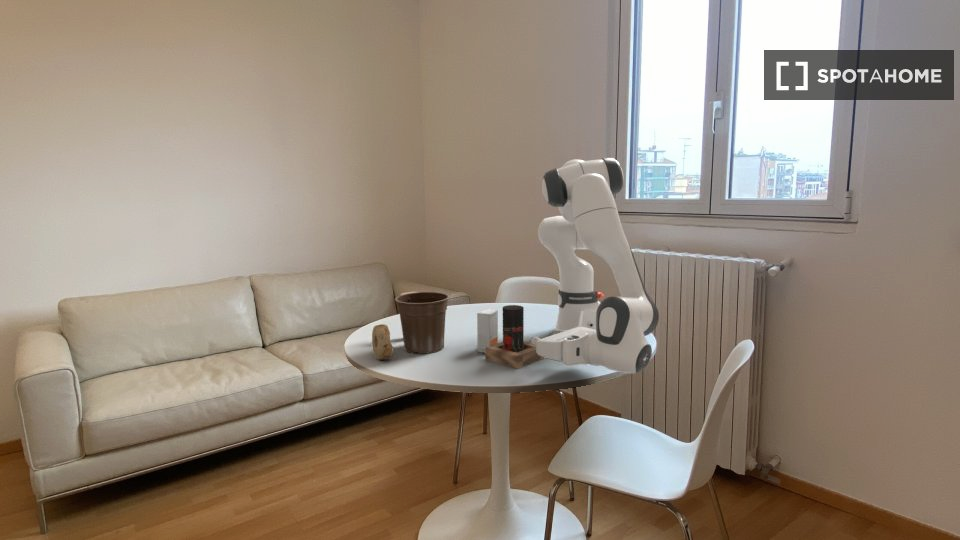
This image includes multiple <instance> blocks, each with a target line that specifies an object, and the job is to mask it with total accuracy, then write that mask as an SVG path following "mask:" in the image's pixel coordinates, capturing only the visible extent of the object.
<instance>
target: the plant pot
mask: <svg viewBox="0 0 960 540" xmlns="http://www.w3.org/2000/svg"><path fill="white" fill-rule="evenodd" d="M415 292H416V293H408V294H404V295H401V294H400V295H398V296H396V297H395V298H394V300H395V303H396V305H397V309H398V310H397V311H398V313H399V317H400V324H401V332H402V338H403V345H404V347H403V348H404V350H405V351H406V352H408V353H411V354H414V353H418V354H419V353H420V354H432V352H433V353H436V352H438V351H441V350H442V349H444V347H445V331H446V313H447V310H448V300H449V299H450V296H449V295H448V294H446V293H443V292H436V291H415ZM420 354H419V355H420Z"/></svg>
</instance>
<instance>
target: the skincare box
mask: <svg viewBox="0 0 960 540" xmlns="http://www.w3.org/2000/svg"><path fill="white" fill-rule="evenodd" d="M498 312H499V311H498V310H497V309H489V308H485V309H484V310H481V311H479V312H477V314H476V315H477V316H476V317H477V318H476V319H477V322H476V324H477V325H476V327H477V328H476V329H477V336H476V337H477V338H476V339H477V343H476V345H477V346H476V347H477V352H479V353H485V347H488V346H491V345H495V344H498V343H499V341H498V339H499V337H498V335H499V333H498V332H499V331H498V329H499V326H498V325H499V320H498V318H499V313H498Z"/></svg>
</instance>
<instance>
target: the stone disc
mask: <svg viewBox="0 0 960 540" xmlns="http://www.w3.org/2000/svg"><path fill="white" fill-rule="evenodd" d="M371 333H372V335H371V338H372V339H371V346H372V347H371V348H372V351H373V354H374V356H375V358H376V359H377V360H378V361H379V360H380V361H381V360H383V361H384V360H390V359H391V358H392V355H393V354H394V353H393V351H394V347H393V344H392V342H391V332H390V329H389V327H388V325H387V324H385V323H383V324H377V325H374V327H373V328H372V332H371Z"/></svg>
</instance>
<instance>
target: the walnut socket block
mask: <svg viewBox="0 0 960 540" xmlns="http://www.w3.org/2000/svg"><path fill="white" fill-rule="evenodd" d="M484 353H485V355H484V356H485V357H484V358H485V359H484V360H487V361H491V362H494V363H497V364H501V365H504V366H507V367H512V368H515V369H521V368H522V367H525V366H527V365H530V364H533V363H535V362H538V361H540V360H543V359H546V358H545V357H542V356H539V355H538V354H537V353H536V345H535V344H532V343H531V342H529V341H524V350H523V351H520V352H517V353H516V352H512V351H508V350H505V349H503V341H502V342H501V341H500V342H498V344H495V345H491V346H488V347H485V352H484Z"/></svg>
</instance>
